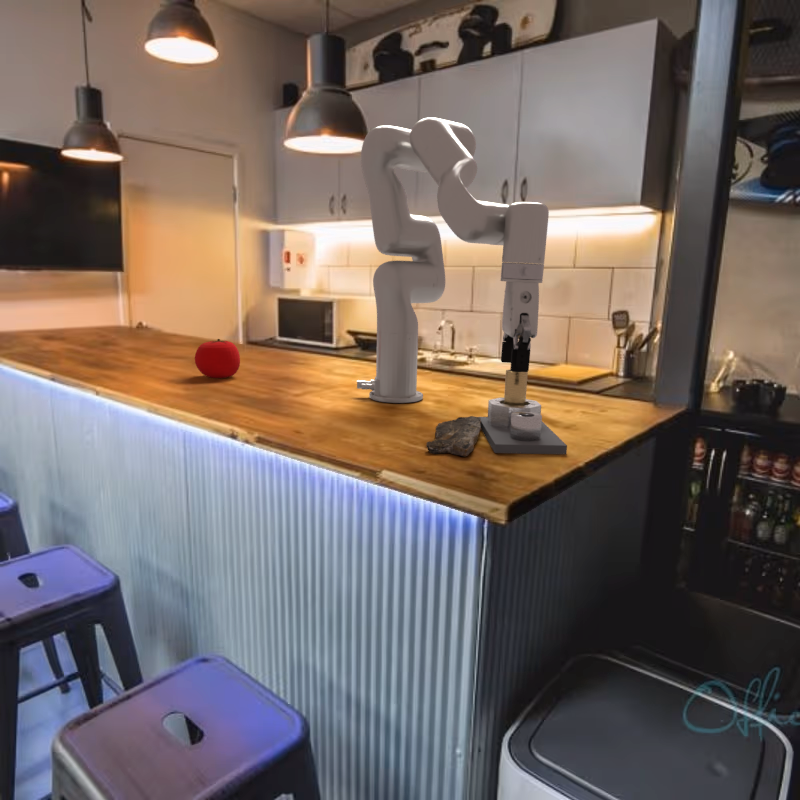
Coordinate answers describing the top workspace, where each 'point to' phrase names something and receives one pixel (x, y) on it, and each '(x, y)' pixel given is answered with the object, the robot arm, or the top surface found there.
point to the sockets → (517, 418)
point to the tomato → (217, 359)
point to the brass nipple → (515, 388)
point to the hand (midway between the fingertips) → (513, 366)
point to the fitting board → (506, 444)
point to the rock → (456, 436)
